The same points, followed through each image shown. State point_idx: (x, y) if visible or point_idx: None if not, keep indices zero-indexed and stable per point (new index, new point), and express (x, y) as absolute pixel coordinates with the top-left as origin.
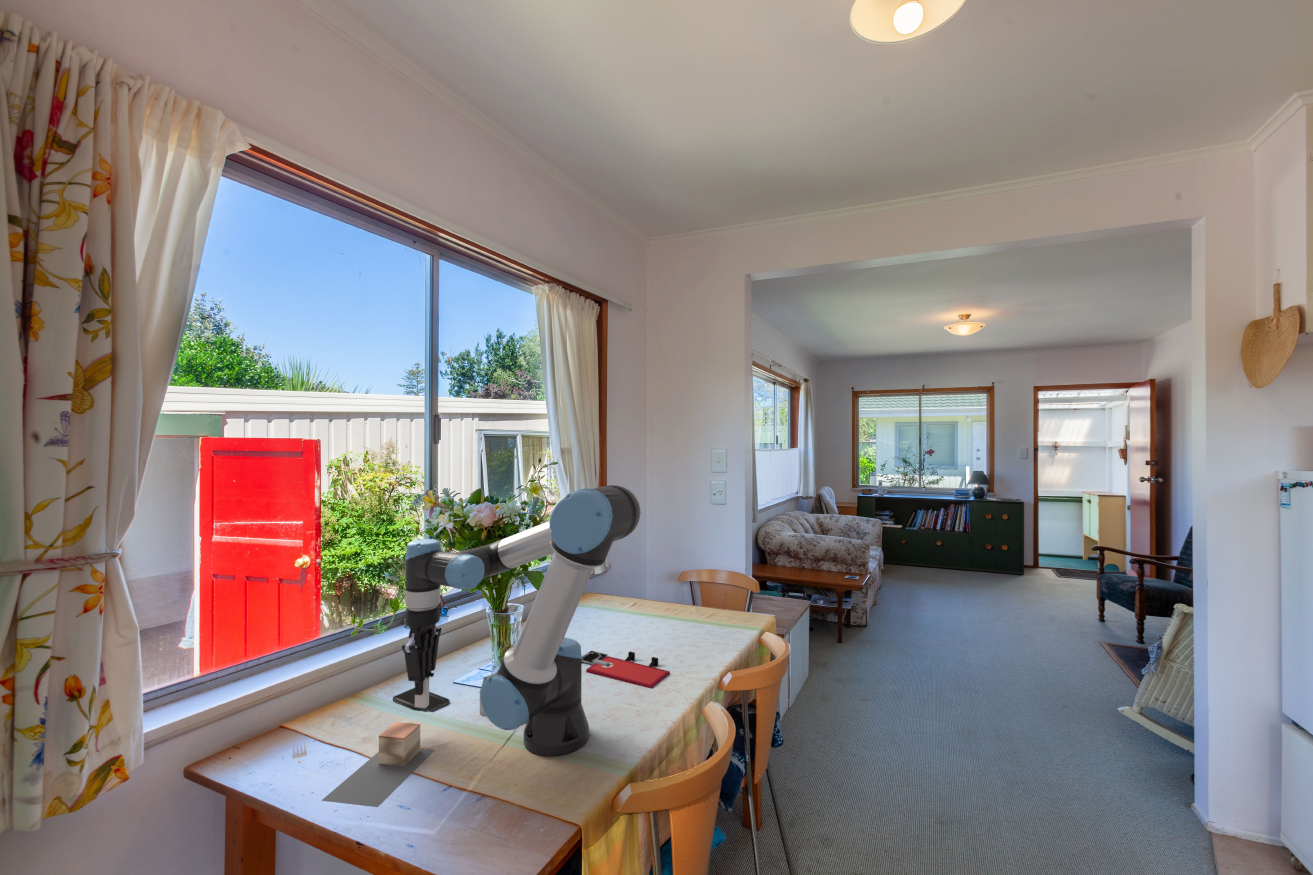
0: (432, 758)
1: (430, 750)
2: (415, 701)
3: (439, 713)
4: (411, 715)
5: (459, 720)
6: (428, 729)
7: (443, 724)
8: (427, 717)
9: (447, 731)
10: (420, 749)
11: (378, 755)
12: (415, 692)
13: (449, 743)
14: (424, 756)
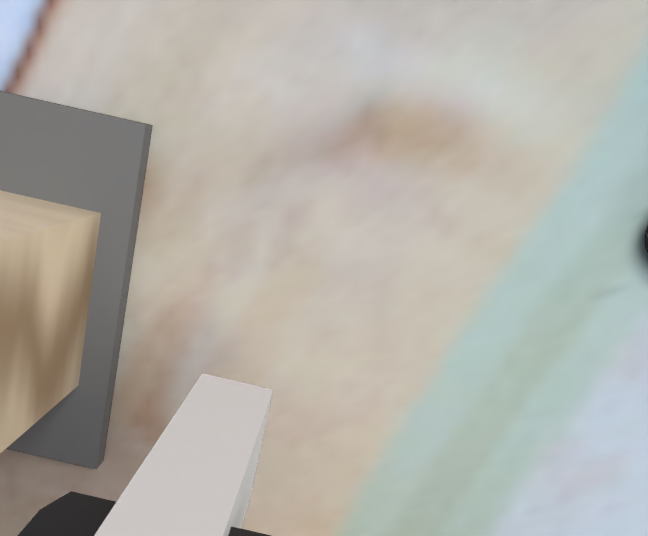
0: (37, 463)
1: (85, 444)
2: (183, 409)
3: (634, 341)
4: (636, 127)
5: (500, 504)
6: (389, 334)
7: (453, 415)
8: (580, 270)
9: (352, 466)
10: (93, 381)
11: (8, 126)
12: (35, 526)
13: None
14: None
